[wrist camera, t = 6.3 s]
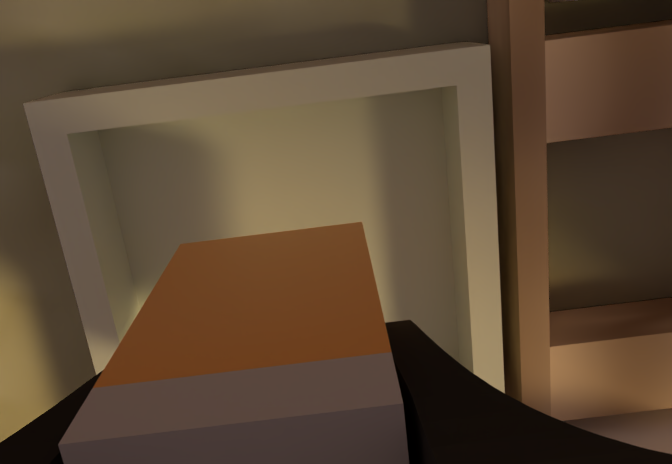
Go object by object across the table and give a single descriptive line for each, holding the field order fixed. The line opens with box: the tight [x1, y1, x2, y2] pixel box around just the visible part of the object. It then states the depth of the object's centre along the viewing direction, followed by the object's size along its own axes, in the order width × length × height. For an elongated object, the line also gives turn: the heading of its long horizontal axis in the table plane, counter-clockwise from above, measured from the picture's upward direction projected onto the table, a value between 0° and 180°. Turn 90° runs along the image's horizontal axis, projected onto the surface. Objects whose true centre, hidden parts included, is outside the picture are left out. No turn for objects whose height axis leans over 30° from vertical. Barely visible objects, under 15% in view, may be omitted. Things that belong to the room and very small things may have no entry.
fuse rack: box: [487, 0, 672, 421], centre depth 17 cm, size 7×23×2 cm, turn 7°
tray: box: [23, 41, 505, 393], centre depth 17 cm, size 11×11×2 cm
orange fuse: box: [58, 222, 409, 464], centre depth 11 cm, size 4×4×7 cm
